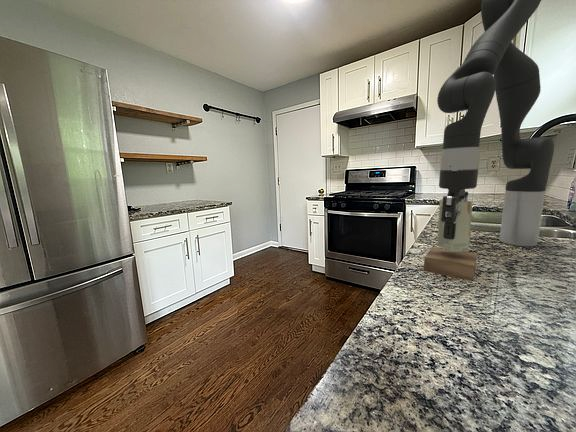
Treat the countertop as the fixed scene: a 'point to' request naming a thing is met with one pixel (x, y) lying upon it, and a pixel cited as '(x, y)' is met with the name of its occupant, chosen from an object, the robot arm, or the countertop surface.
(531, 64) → the robot arm
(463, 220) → the skincare box
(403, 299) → the countertop surface
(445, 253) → the walnut block
